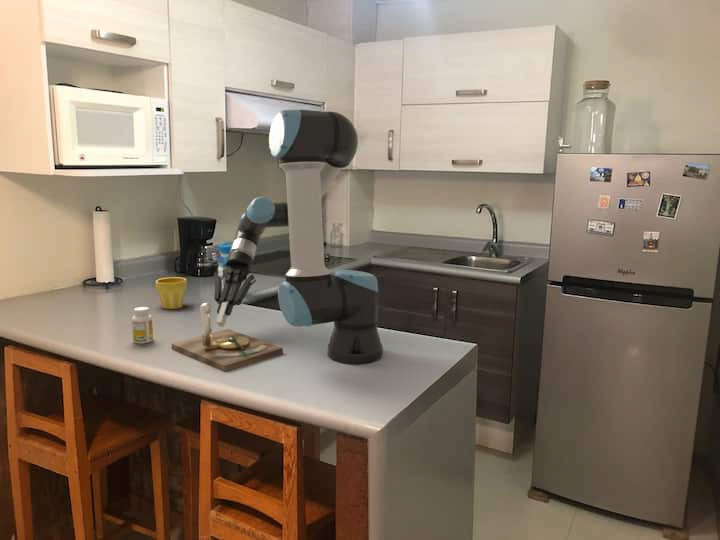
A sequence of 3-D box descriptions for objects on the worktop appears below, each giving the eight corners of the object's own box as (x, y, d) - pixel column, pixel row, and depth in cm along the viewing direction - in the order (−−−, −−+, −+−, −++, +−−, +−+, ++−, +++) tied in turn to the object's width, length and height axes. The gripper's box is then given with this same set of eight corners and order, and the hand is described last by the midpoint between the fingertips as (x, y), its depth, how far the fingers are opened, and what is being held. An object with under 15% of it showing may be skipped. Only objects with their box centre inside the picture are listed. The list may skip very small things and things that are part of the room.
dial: (253, 339, 166) (252, 296, 163) (244, 354, 153) (243, 308, 151) (208, 338, 166) (207, 295, 163) (196, 354, 153) (194, 307, 151)
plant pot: (157, 304, 209) (155, 277, 207) (187, 302, 212) (186, 276, 210) (156, 311, 199) (155, 283, 197) (188, 309, 202) (187, 282, 200)
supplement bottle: (146, 336, 172) (144, 305, 170) (156, 340, 169) (155, 308, 167) (129, 341, 168) (127, 308, 166) (139, 345, 165) (137, 312, 163)
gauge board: (282, 353, 160) (282, 347, 159) (225, 371, 146) (224, 364, 145) (228, 333, 176) (228, 328, 176) (171, 348, 162) (171, 342, 162)
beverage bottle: (233, 300, 216) (231, 247, 212) (214, 298, 219) (212, 245, 215) (245, 295, 224) (244, 244, 220) (226, 293, 227) (224, 242, 223)
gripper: (264, 264, 181) (245, 332, 168) (225, 262, 183) (203, 328, 171) (258, 250, 175) (237, 319, 162) (217, 248, 177) (194, 316, 164)
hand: (220, 324), depth 166 cm, fingers closed
